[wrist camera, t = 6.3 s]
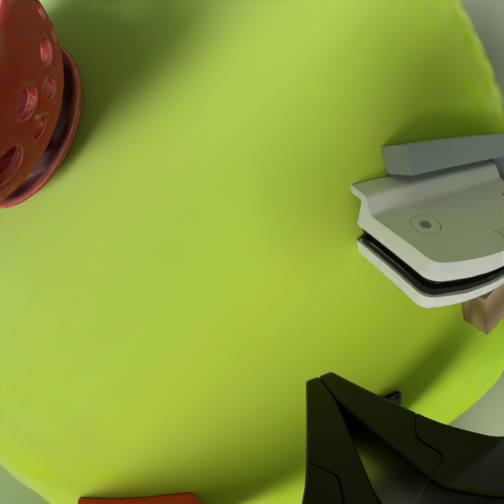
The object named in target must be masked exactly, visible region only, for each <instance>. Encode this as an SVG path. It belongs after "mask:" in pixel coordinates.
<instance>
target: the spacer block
mask: <svg viewBox="0 0 504 504" xmlns="http://www.w3.org/2000/svg"><path fill="white" fill-rule="evenodd" d="M462 309H463V316H464V320H465V321H467V322H469V323H470V324H472V325H473V326H475V327H476V328H478V329H479V330H481V331H482V332H484V333H485V334H487V335H488V334H489V333H490V332H491V330H492V329H493V328H494V327H495V326H496V325H497V323H498V322H499V321H500V320H501V319H502V318H503V316H504V283H503V284H501V285H500V286H498V287H497V288H495V289H493V290H492V291H490V292H488V293H486V294H484V295H481V296H479V297H476V298H474V299H470V300H467V301H464V302H462Z"/></svg>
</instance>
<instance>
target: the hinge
mask: <svg viewBox="0 0 504 504" xmlns="http://www.w3.org/2000/svg"><path fill="white" fill-rule="evenodd" d="M351 193H353V194H354V195H355V196H356V197H358V198H359V199H360V200H361V206H360V212H359V217H358V222H357V225H358V226H360V227H361V228H362V229H363V231H364V232H365V233H367V235H364V236H362V239H359V240H357V245H358V249H359V252H360V254H362V255H363V256H364V257H365V258H366V259H367V260H369V261H370V262H371V263H372V264H373V265H374V266H375V267H377V268H378V269H379V270H380V271H381V272H382V273H383V274H384V275H386V276H387V277H388V278H389V279H390V280H391V281H392V282H393V283H394V284H395V285H397V286H398V287H399V288H400V289H401V290H402V291H403V292H404V293H405V294H406V295H407V296H409V297H410V298H411V299H412V300H413V301H414V302H415V303H416V304H417V305H419V306H421V307H425V308H433V307H440V306H447V305H452V304H456V303H460V302H464V301H467V300H470V299H474V298H476V297H479V296H481V295H484V294H486V293H488V292H490V291H492V290H493V289H495V288H497V287H498V286H500V285H501V284H503V283H504V180H502V179H501V177H500V175H499V172H498V170H497V167H496V165H495V164H494V163H493V162H491V161H489V160H483V161H478V162H473V163H468V164H463V165H459V166H454V167H449V168H445V169H440V170H436V171H431V172H427V173H422V174H418V175H413V176H408V175H391V176H387V177H382V178H378V179H374V180H370V181H365V182H361V183H357V184H353V185H351Z"/></svg>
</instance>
